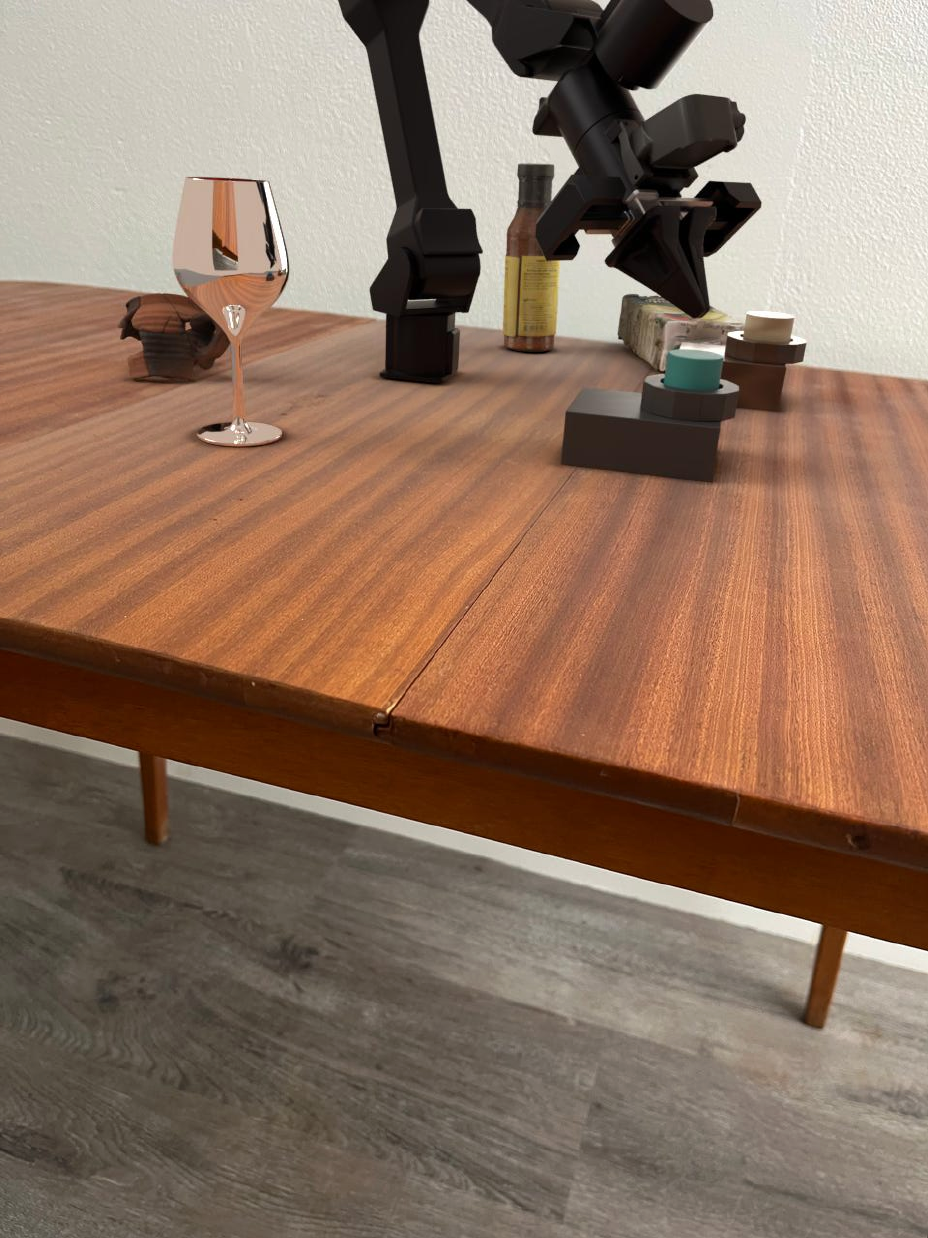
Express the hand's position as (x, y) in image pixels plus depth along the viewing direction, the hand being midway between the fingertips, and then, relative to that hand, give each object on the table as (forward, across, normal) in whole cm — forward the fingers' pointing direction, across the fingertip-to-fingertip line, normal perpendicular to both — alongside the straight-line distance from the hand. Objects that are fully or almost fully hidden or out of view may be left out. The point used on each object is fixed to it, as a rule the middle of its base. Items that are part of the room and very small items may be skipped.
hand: (702, 314), depth 71 cm
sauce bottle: (-22, +21, +37) cm, 48 cm away
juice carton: (-14, +34, +29) cm, 46 cm away
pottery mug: (-24, -21, +39) cm, 51 cm away
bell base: (-2, +22, +17) cm, 28 cm away
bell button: (-4, +24, +12) cm, 27 cm away
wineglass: (-8, -26, +23) cm, 36 cm away
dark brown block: (+6, -2, +9) cm, 11 cm away
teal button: (+4, 0, +4) cm, 5 cm away
